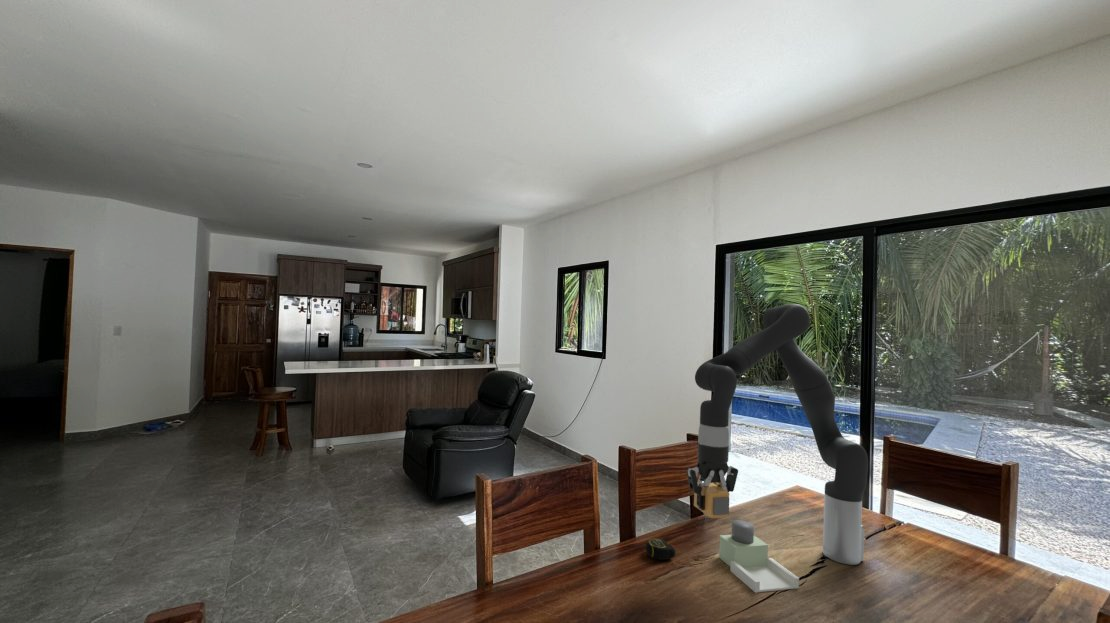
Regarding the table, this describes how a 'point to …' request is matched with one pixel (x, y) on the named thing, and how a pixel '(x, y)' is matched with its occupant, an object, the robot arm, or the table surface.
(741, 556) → the green stand
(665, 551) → the tape measure
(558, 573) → the table surface
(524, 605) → the table surface
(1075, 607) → the table surface
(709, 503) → the tall mustard block
